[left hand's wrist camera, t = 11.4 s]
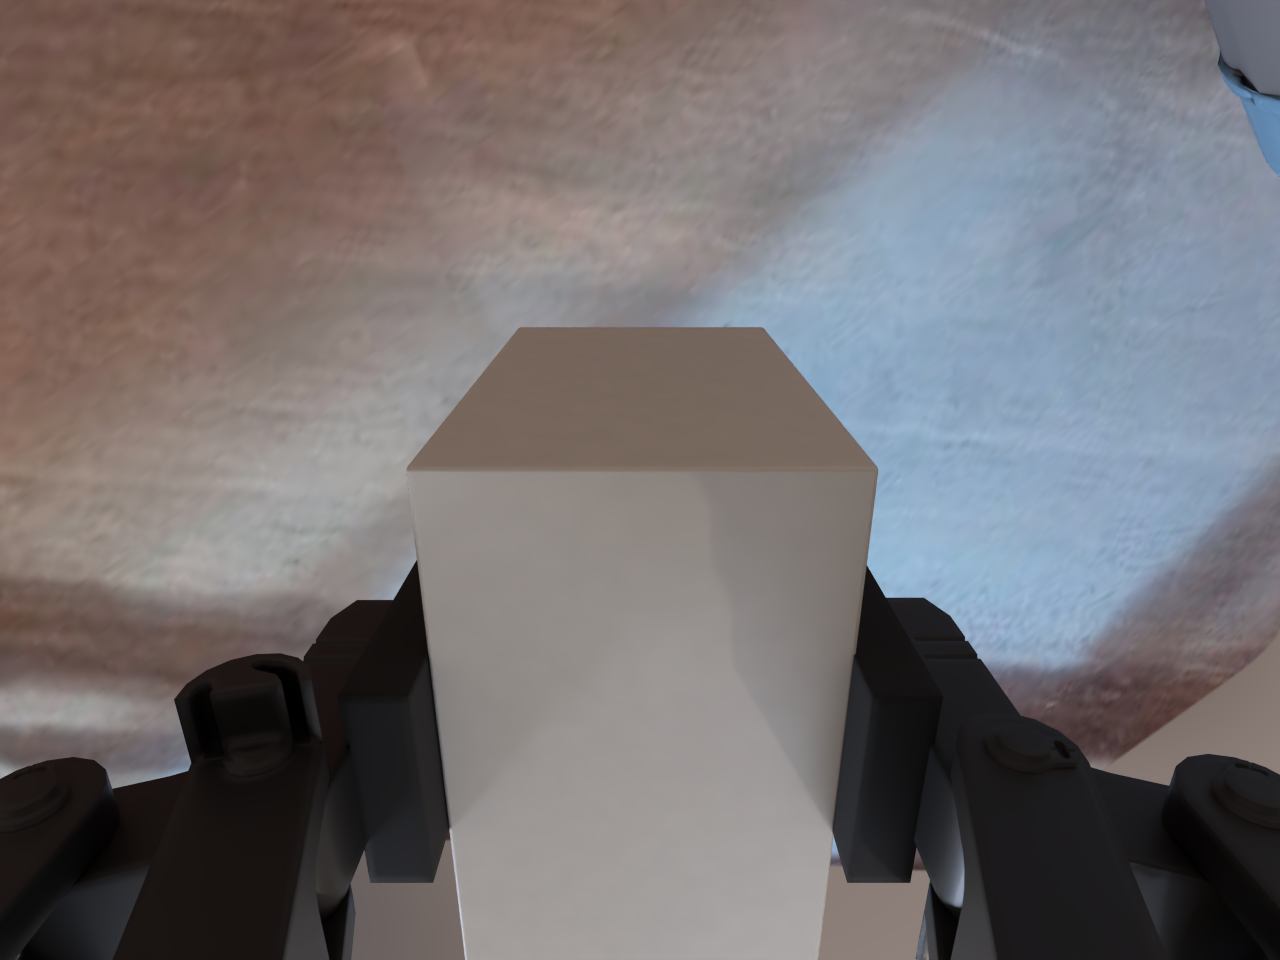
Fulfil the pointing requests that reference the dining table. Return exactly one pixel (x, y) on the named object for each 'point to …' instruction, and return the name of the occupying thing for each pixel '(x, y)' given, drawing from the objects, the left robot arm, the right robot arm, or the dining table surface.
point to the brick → (641, 642)
